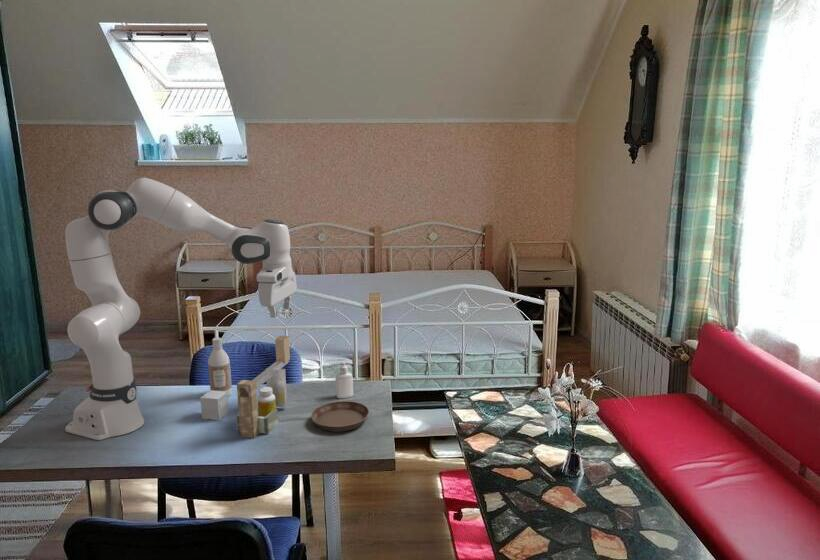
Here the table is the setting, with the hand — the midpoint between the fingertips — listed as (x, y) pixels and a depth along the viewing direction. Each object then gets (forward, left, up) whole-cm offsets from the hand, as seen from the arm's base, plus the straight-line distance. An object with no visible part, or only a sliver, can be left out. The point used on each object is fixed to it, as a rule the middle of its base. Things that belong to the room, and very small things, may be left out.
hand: (280, 312), depth 202 cm
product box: (-17, -15, -31) cm, 38 cm away
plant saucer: (+23, -10, -31) cm, 40 cm away
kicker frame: (0, -20, -30) cm, 37 cm away
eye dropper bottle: (+18, +8, -31) cm, 36 cm away
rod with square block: (0, -11, -29) cm, 31 cm away
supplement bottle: (0, -13, -31) cm, 33 cm away
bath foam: (-24, 0, -31) cm, 39 cm away
